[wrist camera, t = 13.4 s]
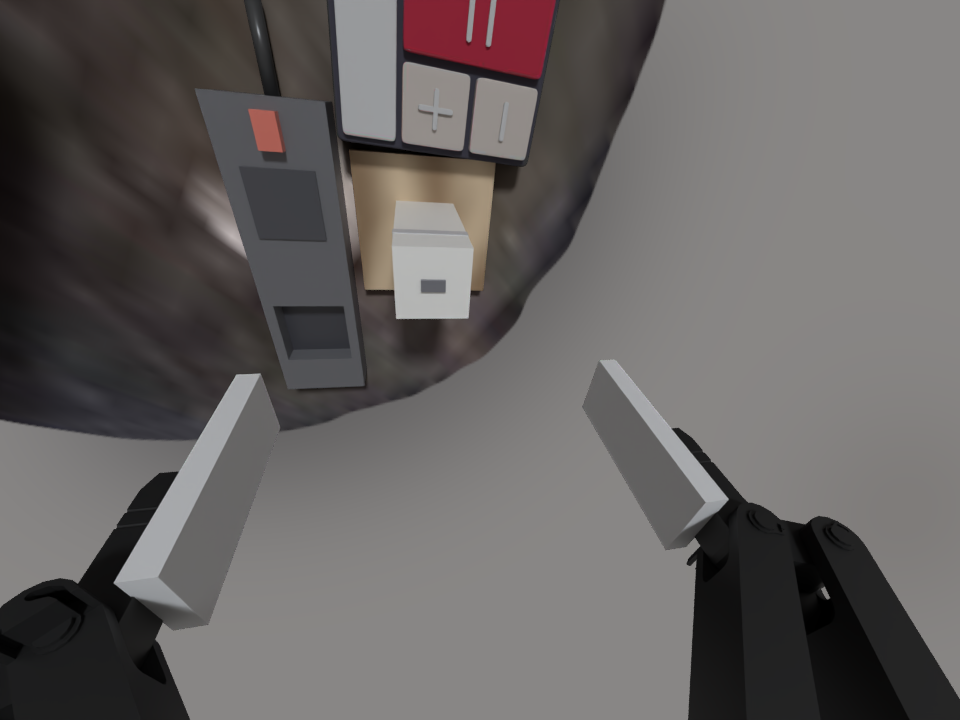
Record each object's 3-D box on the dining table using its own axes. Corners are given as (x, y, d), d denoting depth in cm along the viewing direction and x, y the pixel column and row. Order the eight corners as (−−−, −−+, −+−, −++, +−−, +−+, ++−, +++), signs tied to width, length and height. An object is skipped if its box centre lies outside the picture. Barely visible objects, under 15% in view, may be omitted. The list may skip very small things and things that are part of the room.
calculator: (530, 169, 29) (335, 141, 25) (514, 161, 32) (341, 135, 28) (569, -21, 23) (317, -99, 19) (544, -6, 26) (327, -69, 22)
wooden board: (366, 284, 36) (364, 289, 35) (350, 148, 29) (348, 150, 28) (481, 285, 38) (482, 290, 37) (492, 159, 31) (495, 161, 30)
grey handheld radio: (366, 369, 42) (363, 390, 39) (295, 372, 40) (286, 394, 37) (318, 0, 23) (306, -15, 20) (183, -21, 22) (147, -40, 19)
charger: (398, 257, 33) (395, 321, 24) (395, 199, 30) (390, 246, 21) (451, 258, 34) (469, 320, 25) (453, 203, 31) (475, 248, 22)
